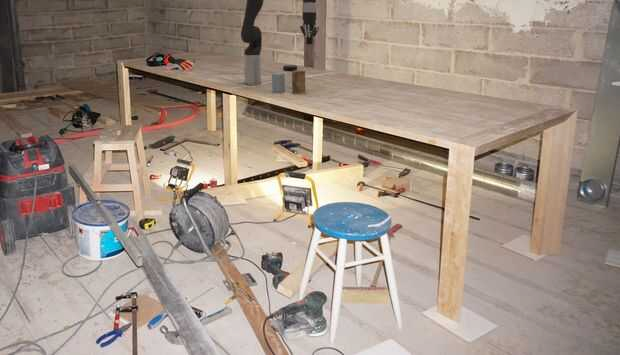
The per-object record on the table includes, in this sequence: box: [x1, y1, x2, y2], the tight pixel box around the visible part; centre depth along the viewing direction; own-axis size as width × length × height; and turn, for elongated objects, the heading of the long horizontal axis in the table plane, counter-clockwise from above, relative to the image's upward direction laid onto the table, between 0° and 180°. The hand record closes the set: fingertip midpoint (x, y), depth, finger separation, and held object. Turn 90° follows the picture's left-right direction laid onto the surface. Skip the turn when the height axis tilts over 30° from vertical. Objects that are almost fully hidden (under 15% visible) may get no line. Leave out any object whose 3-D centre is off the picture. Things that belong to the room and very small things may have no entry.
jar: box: [282, 64, 298, 89], centre depth 319 cm, size 9×8×12 cm
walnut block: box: [291, 69, 306, 95], centre depth 300 cm, size 5×5×12 cm
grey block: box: [271, 72, 286, 94], centre depth 305 cm, size 5×5×10 cm
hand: (309, 44), depth 303 cm, fingers closed
